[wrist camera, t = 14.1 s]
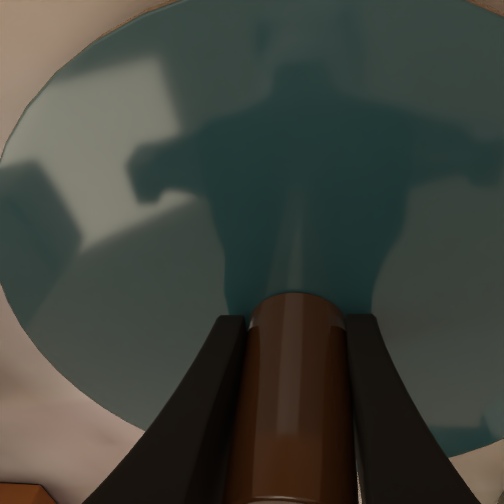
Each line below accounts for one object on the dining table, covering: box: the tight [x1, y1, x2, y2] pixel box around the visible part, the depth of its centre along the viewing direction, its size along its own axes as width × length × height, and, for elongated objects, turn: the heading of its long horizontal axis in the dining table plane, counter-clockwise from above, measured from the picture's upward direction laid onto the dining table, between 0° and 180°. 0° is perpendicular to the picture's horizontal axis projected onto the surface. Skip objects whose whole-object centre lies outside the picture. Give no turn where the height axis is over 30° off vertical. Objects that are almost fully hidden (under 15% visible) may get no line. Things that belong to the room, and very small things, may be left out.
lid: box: [0, 0, 504, 504], centre depth 11 cm, size 16×16×6 cm
